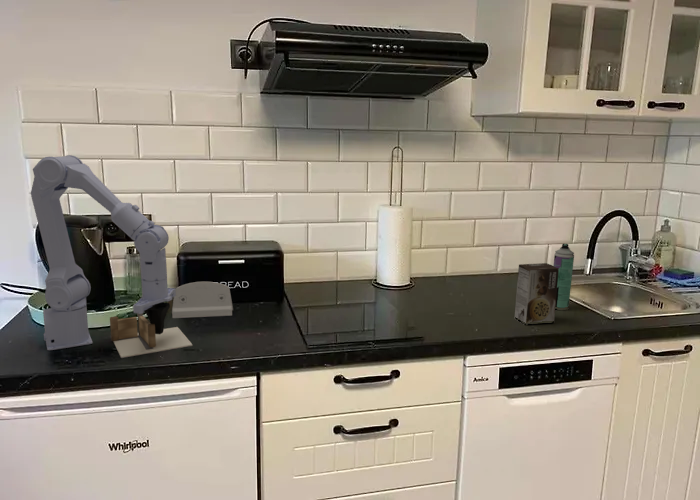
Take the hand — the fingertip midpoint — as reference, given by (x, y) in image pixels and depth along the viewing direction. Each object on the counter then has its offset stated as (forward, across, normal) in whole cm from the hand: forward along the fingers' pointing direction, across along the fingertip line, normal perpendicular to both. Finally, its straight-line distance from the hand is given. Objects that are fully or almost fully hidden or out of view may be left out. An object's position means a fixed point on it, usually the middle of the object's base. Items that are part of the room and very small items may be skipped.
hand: (157, 333), depth 132 cm
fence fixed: (+3, +1, +9) cm, 10 cm away
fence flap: (+2, 0, +3) cm, 4 cm away
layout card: (+3, +1, +2) cm, 4 cm away
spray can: (+4, +62, -98) cm, 116 cm away
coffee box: (+4, +46, -90) cm, 101 cm away
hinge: (+3, +25, +2) cm, 26 cm away
